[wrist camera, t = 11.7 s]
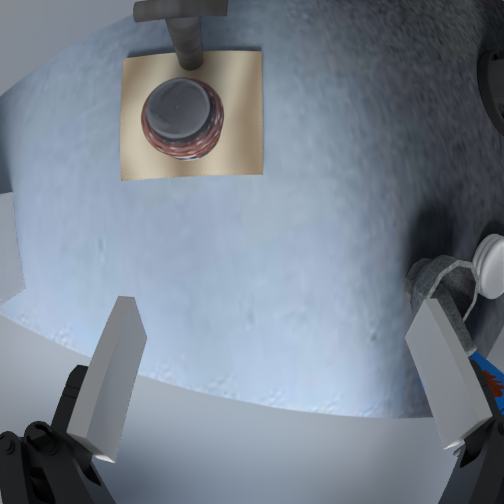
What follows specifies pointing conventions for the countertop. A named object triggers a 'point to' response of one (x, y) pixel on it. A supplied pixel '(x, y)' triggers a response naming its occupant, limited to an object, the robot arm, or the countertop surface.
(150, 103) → the supplement bottle
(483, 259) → the white round container
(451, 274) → the mortar and pestle
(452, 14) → the countertop surface
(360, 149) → the countertop surface
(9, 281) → the milk
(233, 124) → the headphone stand
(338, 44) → the countertop surface
